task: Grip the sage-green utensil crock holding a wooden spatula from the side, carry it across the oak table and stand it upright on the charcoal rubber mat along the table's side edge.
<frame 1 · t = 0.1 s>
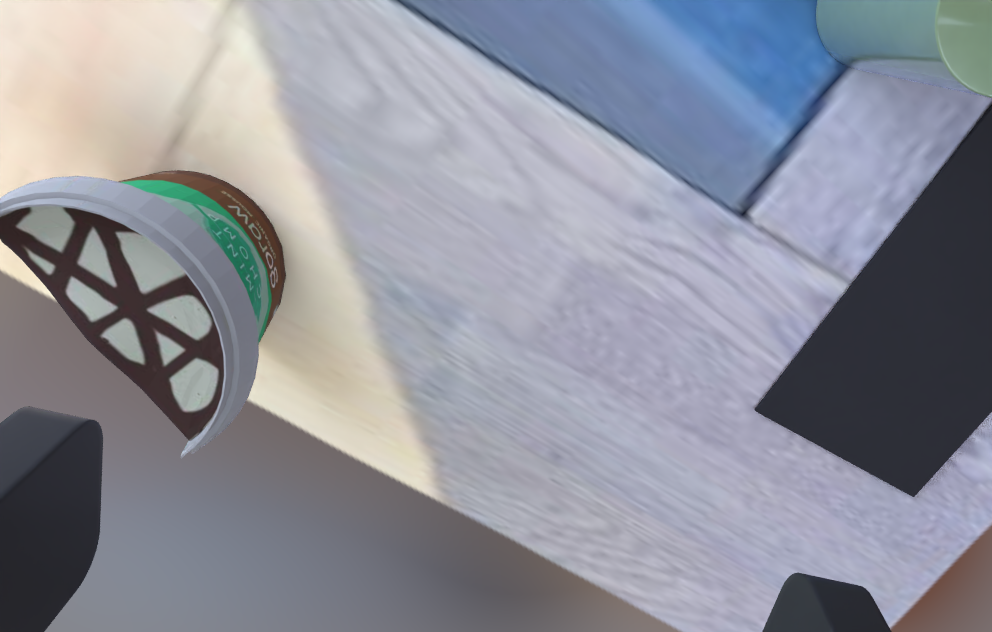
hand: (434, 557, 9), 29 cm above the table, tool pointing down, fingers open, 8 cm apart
food container: (235, 232, 39), on the table
spatula crock: (879, 6, 34), on the table
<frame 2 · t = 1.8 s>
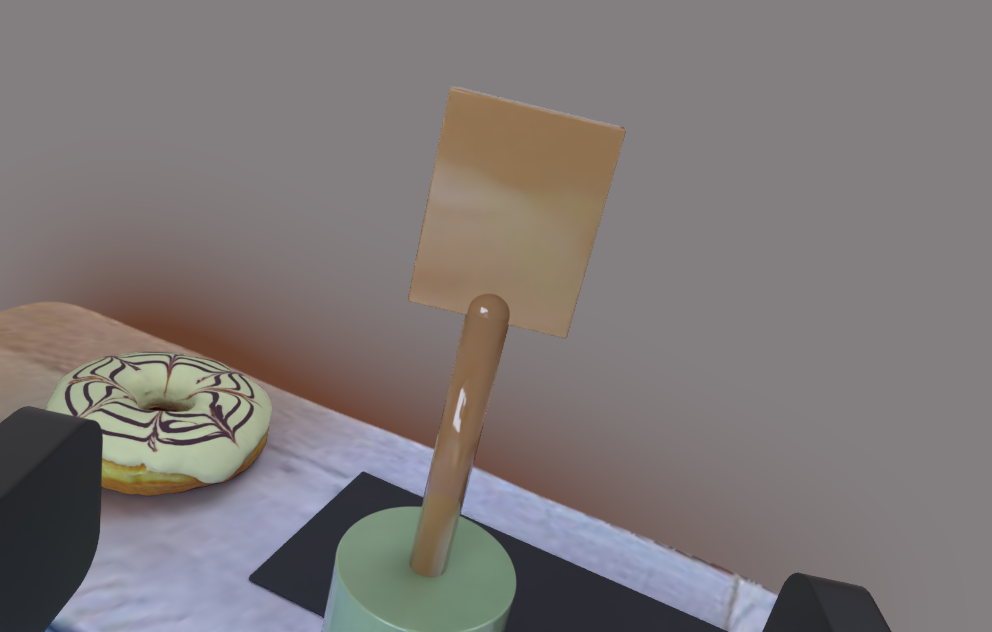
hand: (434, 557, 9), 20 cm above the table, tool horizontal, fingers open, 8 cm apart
decorated donut: (161, 451, 42), on the table
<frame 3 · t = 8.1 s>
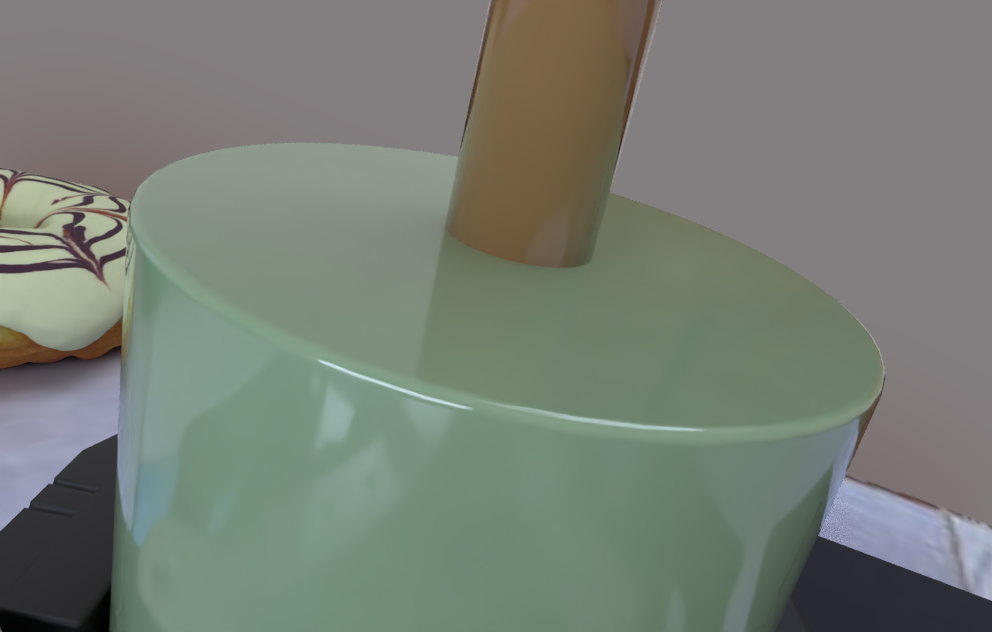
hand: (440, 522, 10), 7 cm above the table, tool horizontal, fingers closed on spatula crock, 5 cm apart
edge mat: (726, 616, 19), on the table
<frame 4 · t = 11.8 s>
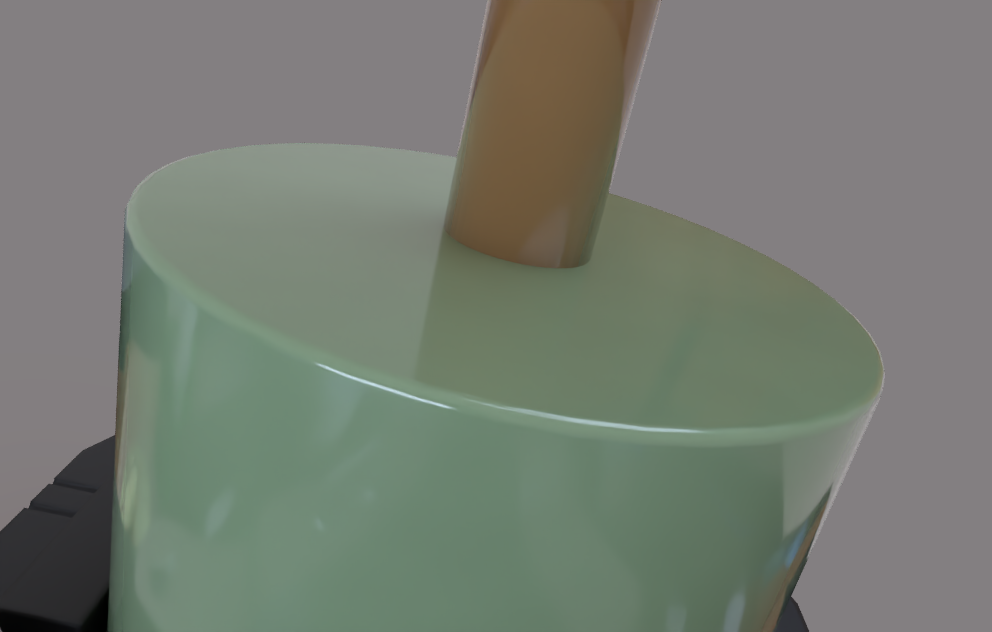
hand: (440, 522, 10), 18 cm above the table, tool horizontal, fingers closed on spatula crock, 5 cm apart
when the fingers open (7 cm above the table, at t = 15.8 s): spatula crock stays where it is, resting on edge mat.
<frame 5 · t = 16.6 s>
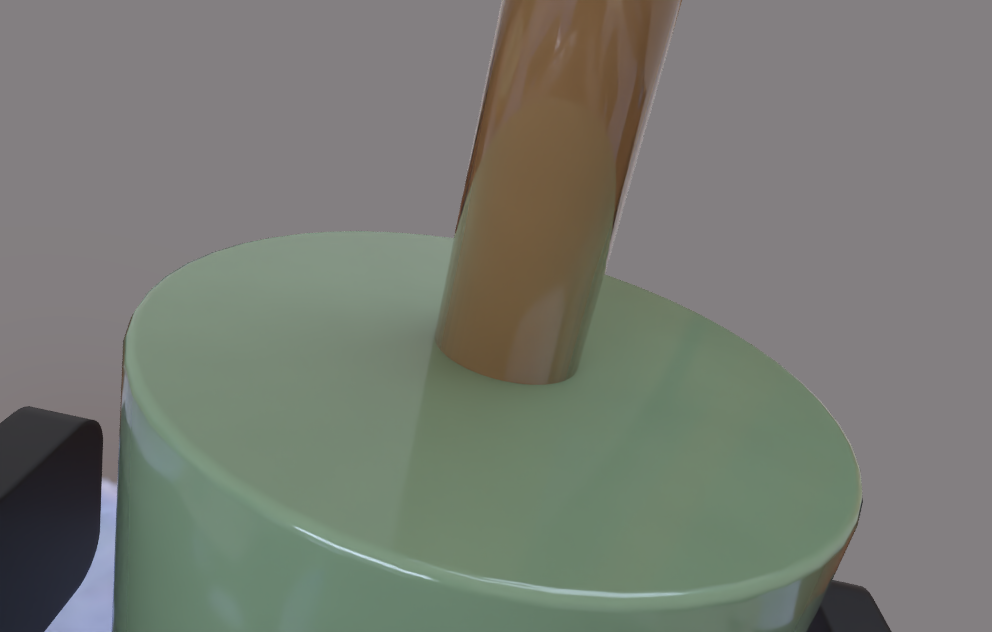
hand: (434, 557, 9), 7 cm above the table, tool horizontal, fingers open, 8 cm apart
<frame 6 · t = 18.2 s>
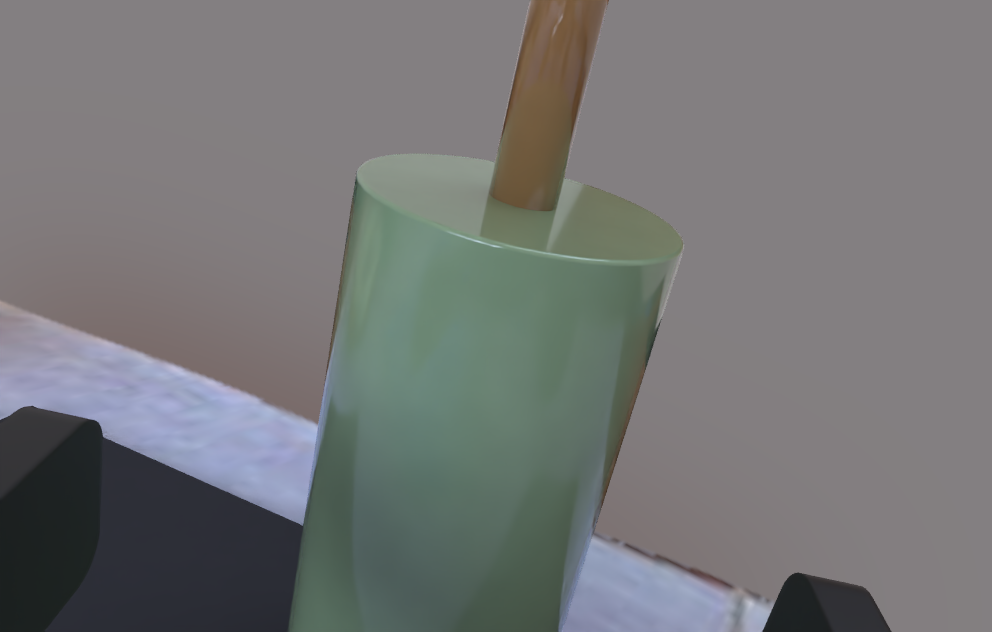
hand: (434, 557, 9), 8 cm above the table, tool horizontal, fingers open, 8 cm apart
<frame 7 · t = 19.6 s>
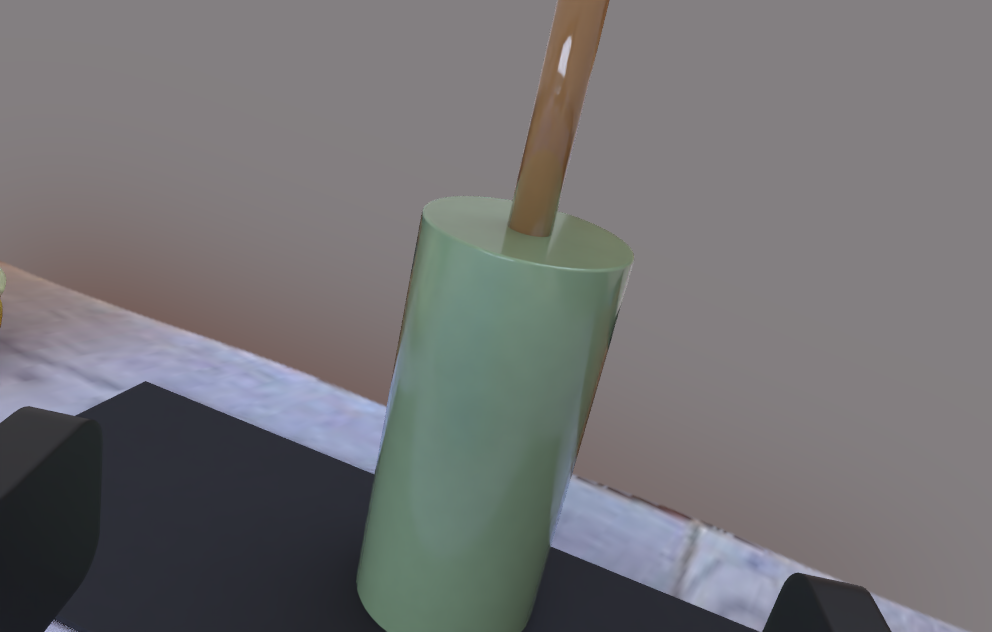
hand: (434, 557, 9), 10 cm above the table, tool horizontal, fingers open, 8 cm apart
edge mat: (421, 618, 22), on the table
spatula crock: (445, 586, 23), resting on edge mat
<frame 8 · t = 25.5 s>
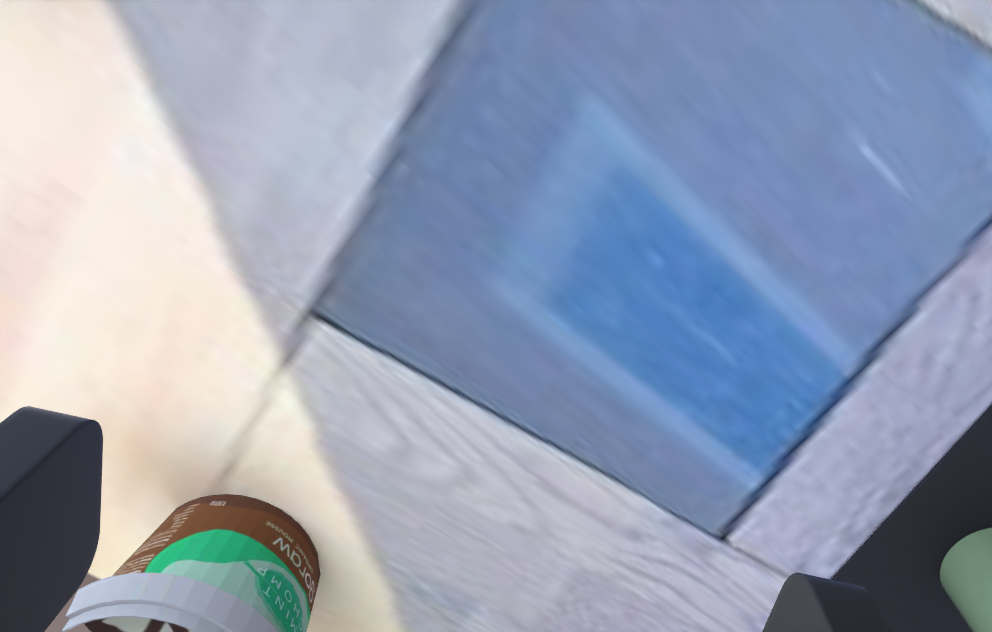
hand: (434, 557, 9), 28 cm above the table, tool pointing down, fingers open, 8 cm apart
food container: (276, 539, 44), on the table
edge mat: (970, 552, 42), on the table
spatula crock: (991, 567, 42), resting on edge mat
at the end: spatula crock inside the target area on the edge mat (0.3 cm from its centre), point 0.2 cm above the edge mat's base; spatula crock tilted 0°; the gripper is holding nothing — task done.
